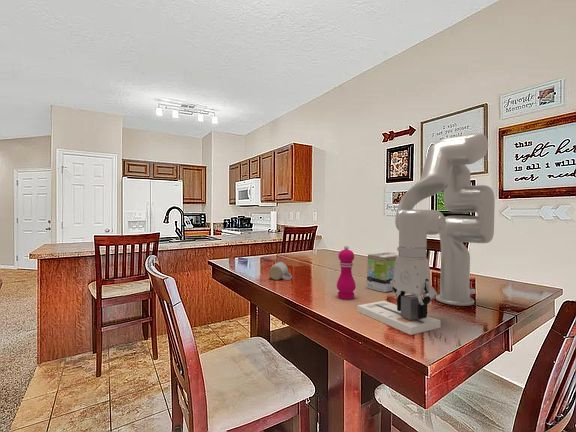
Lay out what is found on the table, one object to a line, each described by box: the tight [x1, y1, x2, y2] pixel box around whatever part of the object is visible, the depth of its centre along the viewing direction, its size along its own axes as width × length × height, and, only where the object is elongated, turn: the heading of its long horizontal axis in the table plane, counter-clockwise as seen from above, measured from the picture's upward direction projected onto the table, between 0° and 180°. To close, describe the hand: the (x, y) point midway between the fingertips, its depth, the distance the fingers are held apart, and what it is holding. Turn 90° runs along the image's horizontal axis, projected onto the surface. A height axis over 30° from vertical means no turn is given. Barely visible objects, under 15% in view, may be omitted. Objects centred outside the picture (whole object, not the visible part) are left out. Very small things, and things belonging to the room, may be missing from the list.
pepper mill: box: [336, 245, 356, 301], centre depth 120 cm, size 7×7×20 cm
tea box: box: [366, 251, 399, 293], centre depth 135 cm, size 15×10×15 cm
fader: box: [401, 294, 424, 320], centre depth 91 cm, size 5×4×6 cm
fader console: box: [356, 300, 441, 336], centre depth 97 cm, size 12×22×2 cm, turn 27°
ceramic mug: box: [268, 261, 293, 281], centre depth 152 cm, size 11×8×8 cm
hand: (411, 313), depth 91 cm, fingers open, 6 cm apart
